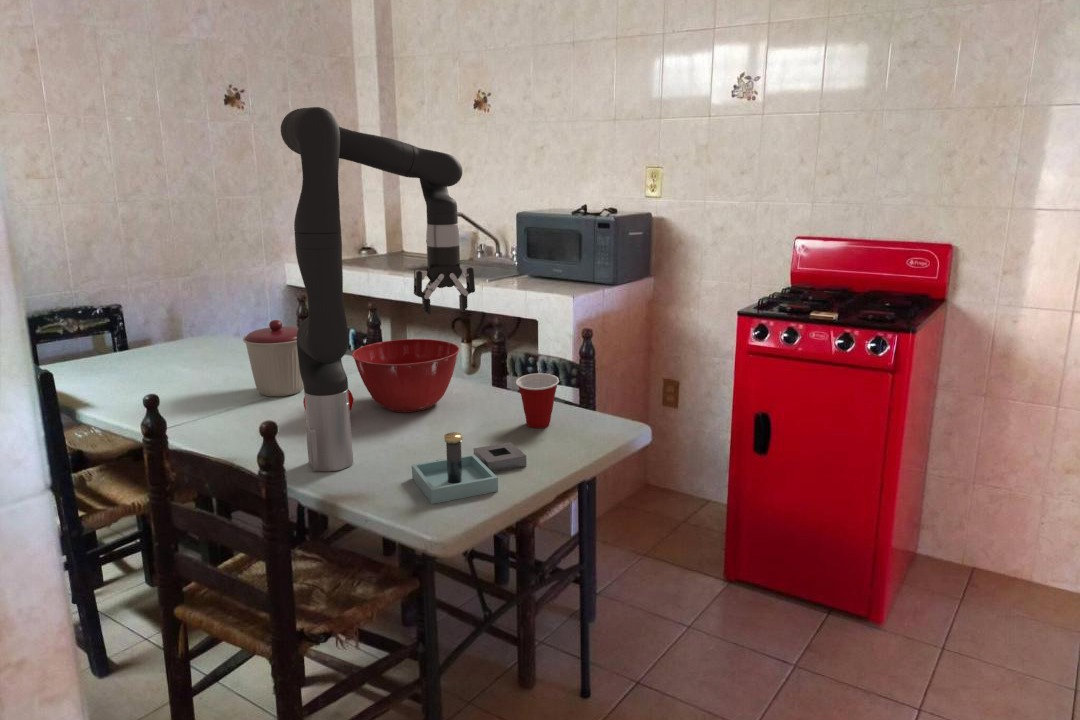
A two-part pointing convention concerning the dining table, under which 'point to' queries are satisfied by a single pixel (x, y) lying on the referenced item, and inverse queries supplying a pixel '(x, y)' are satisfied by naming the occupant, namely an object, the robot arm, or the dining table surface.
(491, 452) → the grey square socket base
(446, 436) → the pin
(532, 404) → the plastic cup
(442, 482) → the tray
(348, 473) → the dining table surface
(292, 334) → the canister
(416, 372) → the mixing bowl
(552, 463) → the dining table surface
